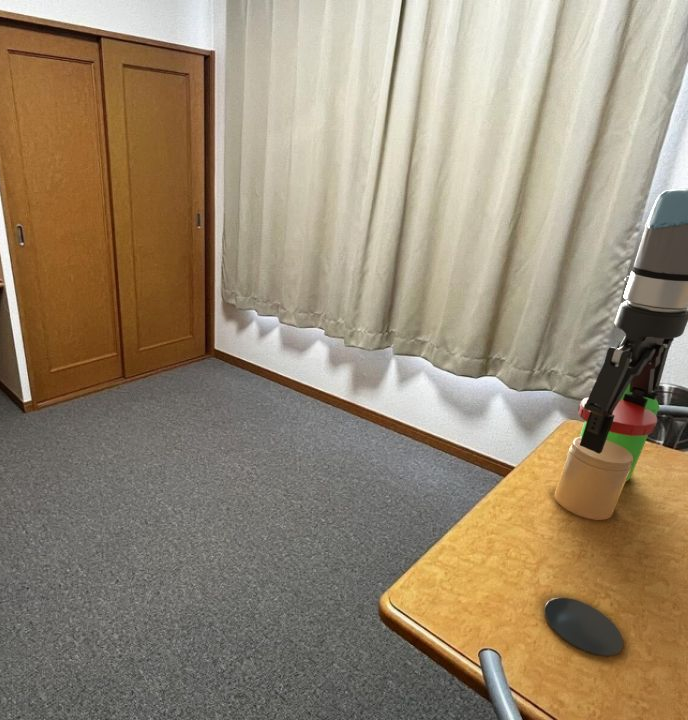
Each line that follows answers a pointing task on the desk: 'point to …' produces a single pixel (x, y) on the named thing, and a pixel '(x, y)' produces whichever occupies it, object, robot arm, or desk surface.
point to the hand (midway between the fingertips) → (607, 439)
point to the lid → (627, 418)
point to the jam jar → (593, 479)
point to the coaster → (583, 627)
